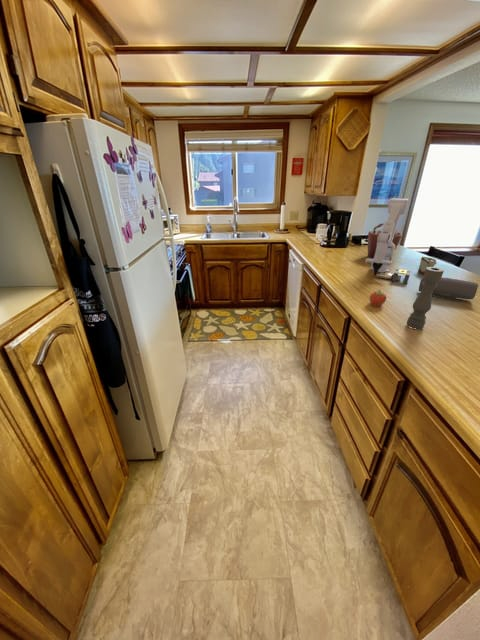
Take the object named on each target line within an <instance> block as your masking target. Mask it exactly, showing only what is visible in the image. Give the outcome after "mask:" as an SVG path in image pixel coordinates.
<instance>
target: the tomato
mask: <svg viewBox="0 0 480 640" xmlns="http://www.w3.org/2000/svg"><path fill="white" fill-rule="evenodd" d="M386 301H387V295H386V294H385V293H384V292H383V291H381V289H378V290H377V291H373V292H372V293H371V294H370V295H369V302H370V303H371V305H372V306H373V305H375V306H374V307H377V306H379V307H381V306H382V305H384V304H385V302H386Z"/></svg>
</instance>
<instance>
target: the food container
mask: <svg viewBox="0 0 480 640" xmlns="http://www.w3.org/2000/svg"><path fill="white" fill-rule="evenodd" d="M436 265H437V260H436V259H435V258H432V257H428V256H427V257H426V256H421V259H420V263H419V266H418V271H417V273H418V274H419V275H420V274H421V275H420V276H421V277H423V275H424V273H425V270H426V268H427V267H435V266H436Z"/></svg>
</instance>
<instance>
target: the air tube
mask: <svg viewBox="0 0 480 640" xmlns="http://www.w3.org/2000/svg"><path fill="white" fill-rule="evenodd" d="M393 275H394V273H393V274H391V273H385V272H377V275H376V278H380V279H386V280H391V281H392V279H393ZM401 279H402V275H399V274H398V276H397V279H396V281H401Z"/></svg>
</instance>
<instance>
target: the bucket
mask: <svg viewBox="0 0 480 640" xmlns="http://www.w3.org/2000/svg"><path fill="white" fill-rule="evenodd" d="M384 223H385V222H382V223H378V224H377V225H375V226H374V227H373V230H372V231H368V234H367V257H368V259H373V258H374V256H375V252H376V248H377V238H378V235H379V233H381V231H382V229H381V230H378V229H379V228H381V227H383V226H384ZM402 236H403V232H398V230H397V229H396V230H395V234H394V237H393V240H392V243H393V244H394V245H395V250H396V249H397V248H398V247H397V246H398V245H399V243H400V241H401V239H402ZM390 248H392V247H390ZM392 258H393V257H391V258H390V260H392Z"/></svg>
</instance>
